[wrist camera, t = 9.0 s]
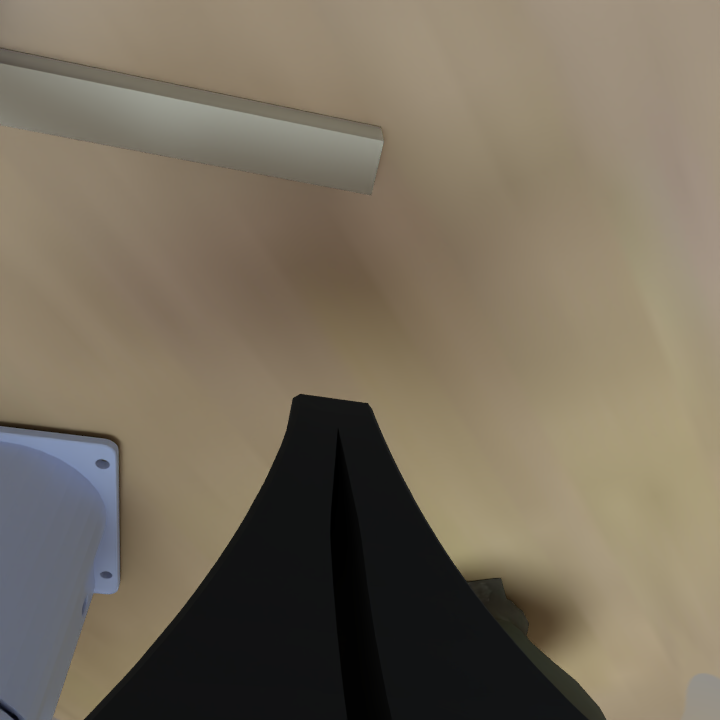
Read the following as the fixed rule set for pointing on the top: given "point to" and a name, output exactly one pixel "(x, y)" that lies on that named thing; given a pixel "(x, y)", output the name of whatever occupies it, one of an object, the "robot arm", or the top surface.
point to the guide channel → (186, 123)
